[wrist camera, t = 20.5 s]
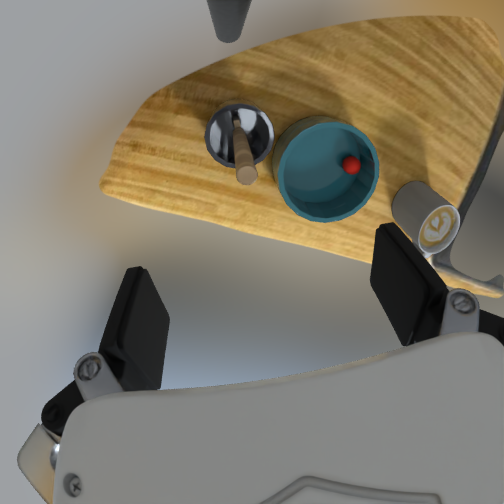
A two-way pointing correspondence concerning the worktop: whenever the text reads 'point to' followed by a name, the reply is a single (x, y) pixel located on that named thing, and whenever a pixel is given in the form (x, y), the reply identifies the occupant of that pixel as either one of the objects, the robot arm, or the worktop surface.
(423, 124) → the worktop surface
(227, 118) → the crock
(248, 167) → the paddle
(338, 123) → the bowl
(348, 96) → the worktop surface
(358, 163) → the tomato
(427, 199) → the coffee mug
